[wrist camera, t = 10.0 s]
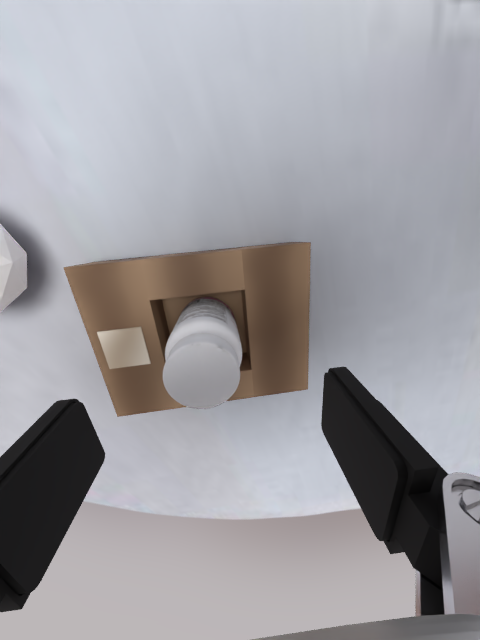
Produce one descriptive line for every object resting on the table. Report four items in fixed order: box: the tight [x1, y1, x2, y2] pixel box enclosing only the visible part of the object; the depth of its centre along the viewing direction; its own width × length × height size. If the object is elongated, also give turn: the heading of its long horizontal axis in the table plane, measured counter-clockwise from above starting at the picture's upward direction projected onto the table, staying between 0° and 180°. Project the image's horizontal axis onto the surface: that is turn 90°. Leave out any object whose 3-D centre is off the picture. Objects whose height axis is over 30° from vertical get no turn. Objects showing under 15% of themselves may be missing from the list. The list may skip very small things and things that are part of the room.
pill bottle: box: [163, 297, 242, 409], centre depth 15 cm, size 5×5×8 cm
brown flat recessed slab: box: [64, 242, 311, 417], centre depth 18 cm, size 16×12×4 cm
